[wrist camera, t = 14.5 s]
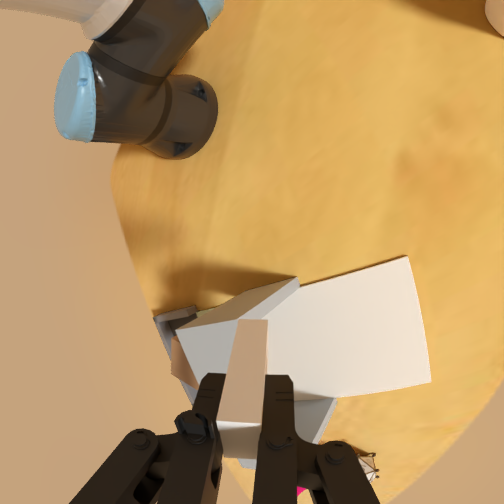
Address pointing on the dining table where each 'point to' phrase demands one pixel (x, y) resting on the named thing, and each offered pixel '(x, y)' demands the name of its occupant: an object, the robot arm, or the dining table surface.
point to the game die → (368, 466)
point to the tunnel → (324, 338)
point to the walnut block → (181, 364)
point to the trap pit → (167, 328)
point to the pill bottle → (495, 14)
